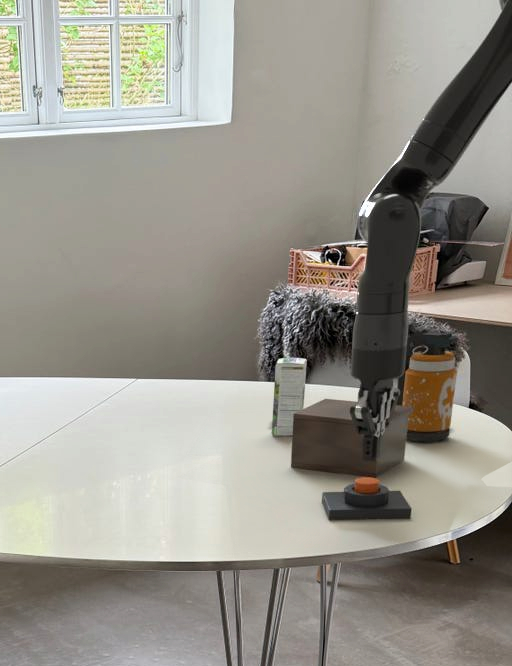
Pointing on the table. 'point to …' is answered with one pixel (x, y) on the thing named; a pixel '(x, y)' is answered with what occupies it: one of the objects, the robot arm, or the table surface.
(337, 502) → the control block
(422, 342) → the canister
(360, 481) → the button
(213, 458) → the table surface
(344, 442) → the brown wooden box
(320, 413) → the brown box lid
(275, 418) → the syrup box
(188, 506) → the table surface
